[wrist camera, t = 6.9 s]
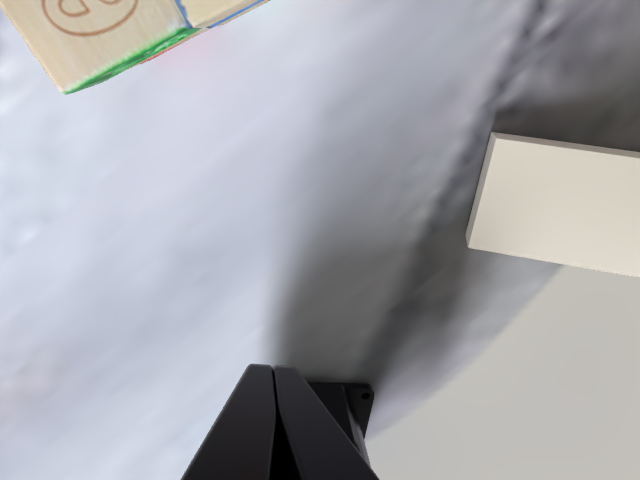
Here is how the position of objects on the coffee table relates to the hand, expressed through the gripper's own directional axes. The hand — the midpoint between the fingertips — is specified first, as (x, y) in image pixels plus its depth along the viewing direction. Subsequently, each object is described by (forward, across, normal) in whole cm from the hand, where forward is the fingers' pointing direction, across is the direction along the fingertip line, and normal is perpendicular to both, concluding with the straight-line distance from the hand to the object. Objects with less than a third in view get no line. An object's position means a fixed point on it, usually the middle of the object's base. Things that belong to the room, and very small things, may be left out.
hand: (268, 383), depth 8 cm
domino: (+12, -10, -1) cm, 16 cm away
